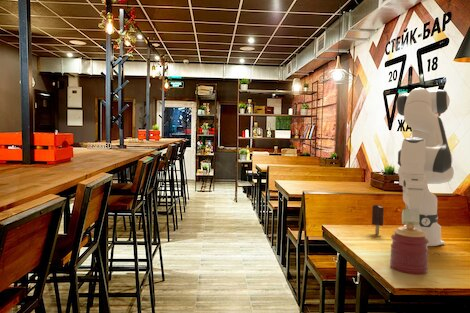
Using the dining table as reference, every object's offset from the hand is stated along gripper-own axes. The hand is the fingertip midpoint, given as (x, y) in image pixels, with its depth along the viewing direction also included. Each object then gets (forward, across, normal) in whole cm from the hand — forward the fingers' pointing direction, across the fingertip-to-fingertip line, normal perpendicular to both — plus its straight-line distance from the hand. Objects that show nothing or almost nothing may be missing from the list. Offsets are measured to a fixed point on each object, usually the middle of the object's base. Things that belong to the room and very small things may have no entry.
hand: (410, 217), depth 145 cm
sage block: (+2, 0, 0) cm, 2 cm away
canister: (+20, 0, 0) cm, 20 cm away
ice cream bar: (+20, -51, -8) cm, 55 cm away
